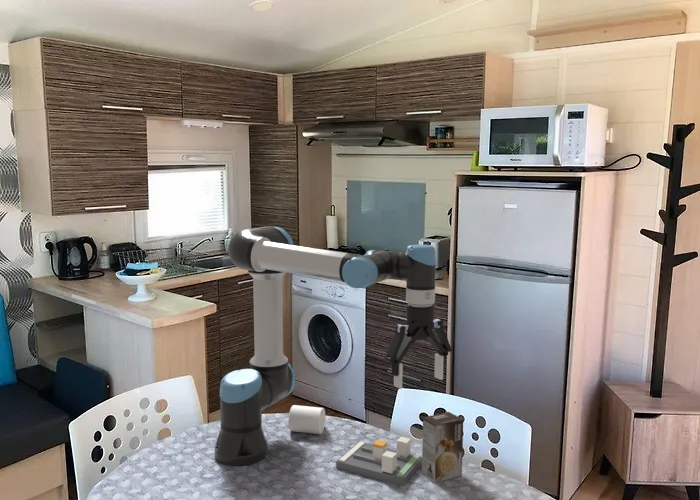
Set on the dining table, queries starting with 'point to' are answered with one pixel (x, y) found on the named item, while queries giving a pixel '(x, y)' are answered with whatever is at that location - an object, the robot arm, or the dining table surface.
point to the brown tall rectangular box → (442, 446)
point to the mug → (306, 419)
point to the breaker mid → (379, 449)
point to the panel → (378, 464)
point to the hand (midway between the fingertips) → (418, 382)
